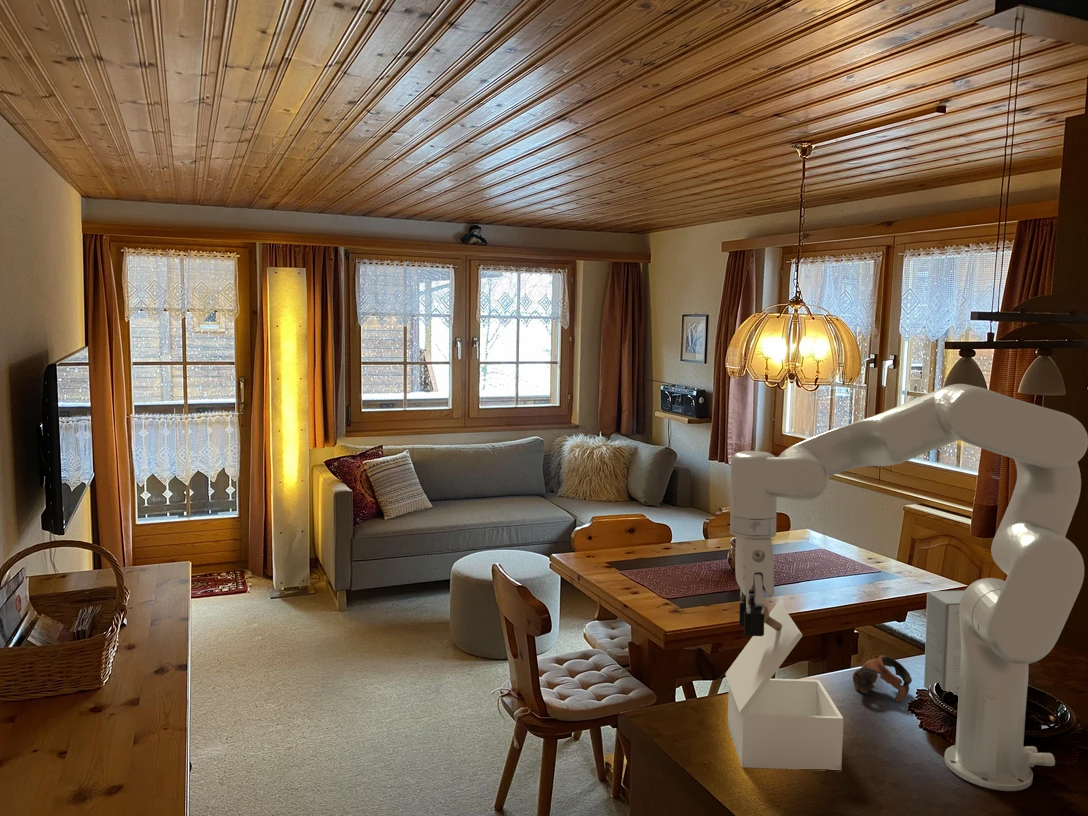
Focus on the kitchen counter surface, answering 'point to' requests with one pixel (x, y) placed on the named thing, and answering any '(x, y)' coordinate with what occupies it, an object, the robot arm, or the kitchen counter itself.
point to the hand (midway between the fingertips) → (751, 629)
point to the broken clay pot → (882, 676)
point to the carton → (788, 727)
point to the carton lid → (762, 657)
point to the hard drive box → (943, 640)
